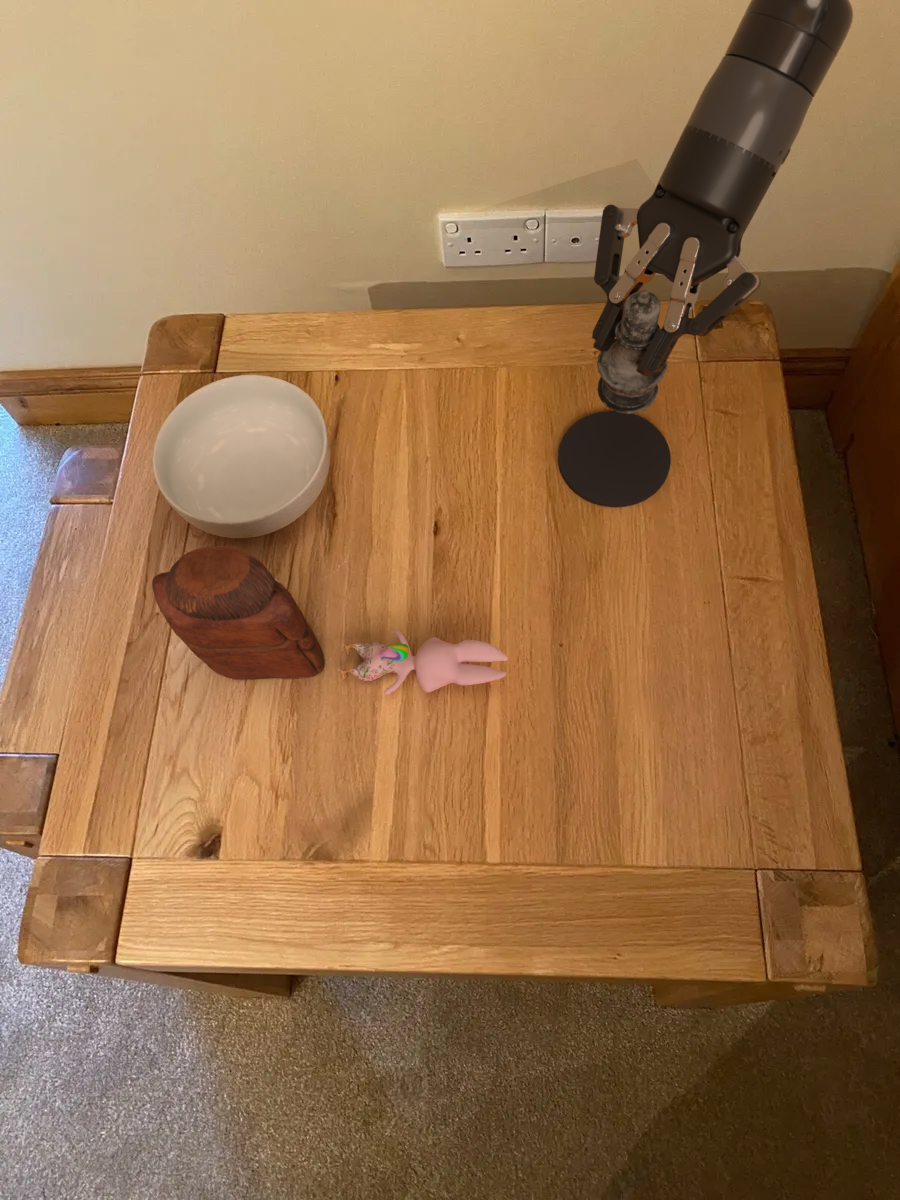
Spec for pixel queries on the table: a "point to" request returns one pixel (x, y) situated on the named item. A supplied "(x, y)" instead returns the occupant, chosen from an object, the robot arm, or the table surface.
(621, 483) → the coaster
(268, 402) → the cereal bowl
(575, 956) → the table surface
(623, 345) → the salt shaker
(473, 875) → the table surface
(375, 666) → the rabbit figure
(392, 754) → the table surface
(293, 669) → the wooden figurine
